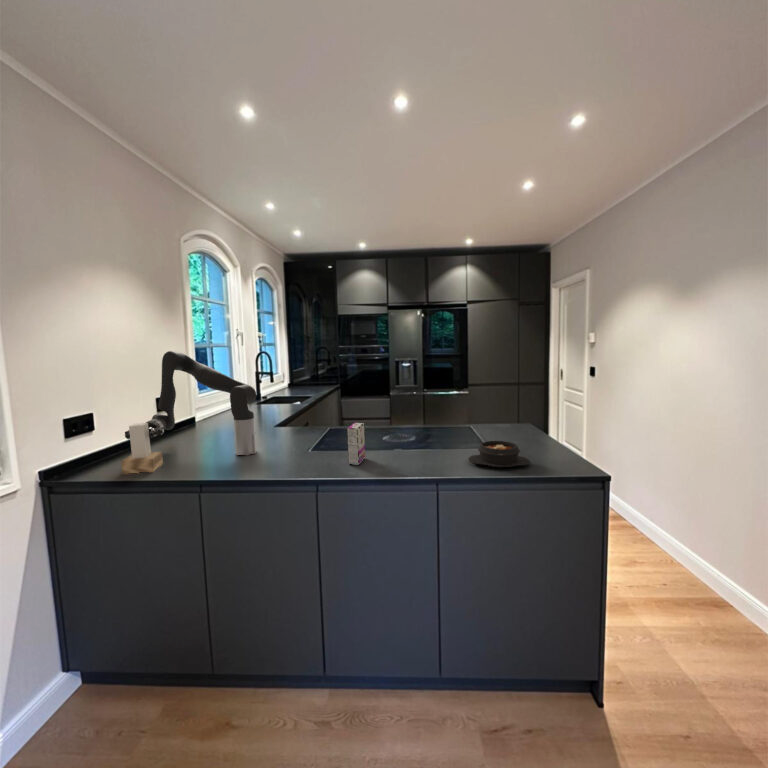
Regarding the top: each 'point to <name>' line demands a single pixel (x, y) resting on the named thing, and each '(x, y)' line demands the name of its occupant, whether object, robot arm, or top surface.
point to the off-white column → (140, 440)
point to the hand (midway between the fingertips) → (138, 436)
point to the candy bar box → (356, 442)
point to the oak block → (142, 463)
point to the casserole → (499, 455)
